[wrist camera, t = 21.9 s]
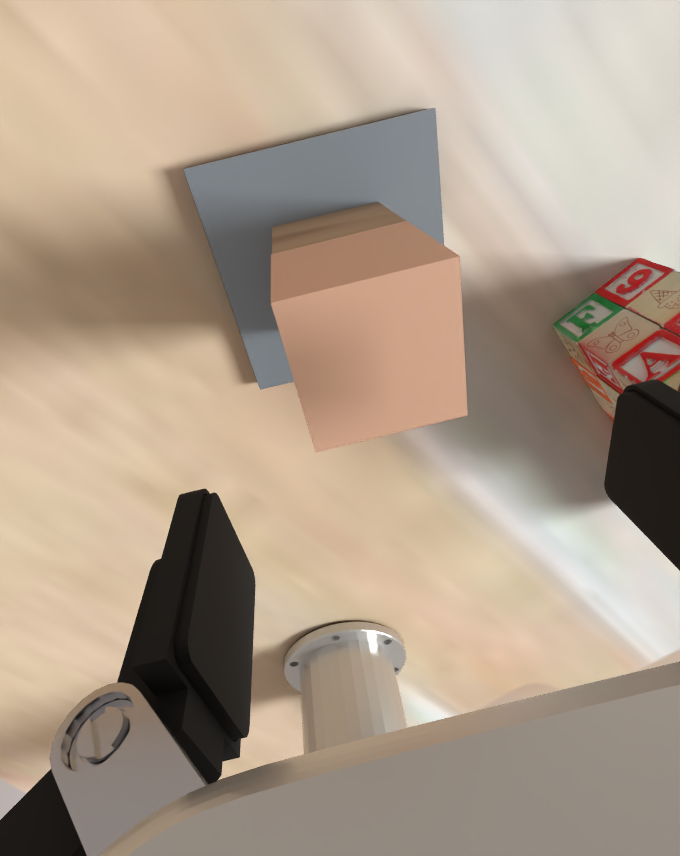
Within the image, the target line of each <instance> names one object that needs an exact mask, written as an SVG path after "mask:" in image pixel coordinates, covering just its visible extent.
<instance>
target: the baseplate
mask: <svg viewBox="0 0 680 856" xmlns="http://www.w3.org/2000/svg"><path fill="white" fill-rule="evenodd" d="M183 170H184V173H185V176H186V178H187V181H188V184H189V187H190V190H191V193H192V196H193V199H194V201H195V204H196V207H197V210H198V213H199V216H200V219H201V222H202V224H203V227H204V230H205V233H206V236H207V239H208V242H209V244H210V247H211V250H212V253H213V256H214V259H215V262H216V265H217V267H218V270H219V273H220V276H221V279H222V282H223V285H224V288H225V290H226V293H227V296H228V299H229V302H230V305H231V308H232V310H233V313H234V316H235V319H236V322H237V325H238V328H239V331H240V333H241V336H242V339H243V342H244V345H245V348H246V351H247V354H248V356H249V359H250V362H251V365H252V368H253V371H254V374H255V376H256V379H257V382H258V385H259V388H260V390H261V389H265V388H269V387H273V386H277V385H281V384H285V383H290V382H294V379H293V375H292V372H291V369H290V365H289V362H288V359H287V355H286V352H285V349H284V345H283V342H282V339H281V336H280V332H279V329H278V326H277V322H276V319H275V316H274V312H273V309H272V306H271V254H272V227H274V226H278V225H282V224H286V223H291V222H295V221H299V220H303V219H308V218H312V217H316V216H320V215H325V214H329V213H333V212H337V211H342V210H346V209H350V208H354V207H358V206H363V205H367V204H371V203H375V202H379V203H381V204H382V205H384V206H385V207H387V208H388V209H390V210H391V211H392V212H394V213H395V214H397V215H398V216H400V217H401V218H403V219H404V220H406V221H408V222H409V223H411V224H412V225H414V226H415V227H417V228H418V229H420V230H421V231H423V232H424V233H426V234H427V235H429V236H430V237H432V238H433V239H435V240H436V241H438V242H439V243H441V244H442V245H444V236H443V220H442V205H441V189H440V173H439V158H438V142H437V127H436V111H435V108H430V109H426V110H422V111H417V112H413V113H409V114H405V115H401V116H397V117H393V118H389V119H385V120H381V121H377V122H372V123H368V124H364V125H360V126H356V127H352V128H348V129H344V130H340V131H336V132H332V133H327V134H323V135H319V136H315V137H311V138H307V139H303V140H299V141H295V142H291V143H287V144H282V145H278V146H274V147H270V148H266V149H262V150H258V151H254V152H250V153H246V154H242V155H237V156H233V157H229V158H225V159H221V160H217V161H213V162H209V163H205V164H201V165H197V166H192V167H188V168H185V169H183Z"/></svg>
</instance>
